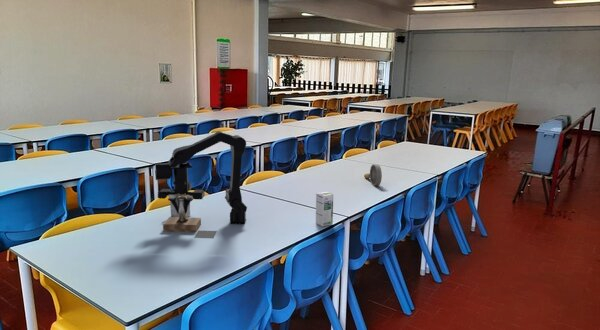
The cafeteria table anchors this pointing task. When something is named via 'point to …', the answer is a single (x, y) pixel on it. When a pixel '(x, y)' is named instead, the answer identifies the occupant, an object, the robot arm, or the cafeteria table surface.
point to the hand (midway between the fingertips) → (182, 213)
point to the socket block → (181, 224)
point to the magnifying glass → (374, 175)
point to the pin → (181, 208)
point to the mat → (205, 234)
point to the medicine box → (174, 212)
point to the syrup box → (324, 208)
